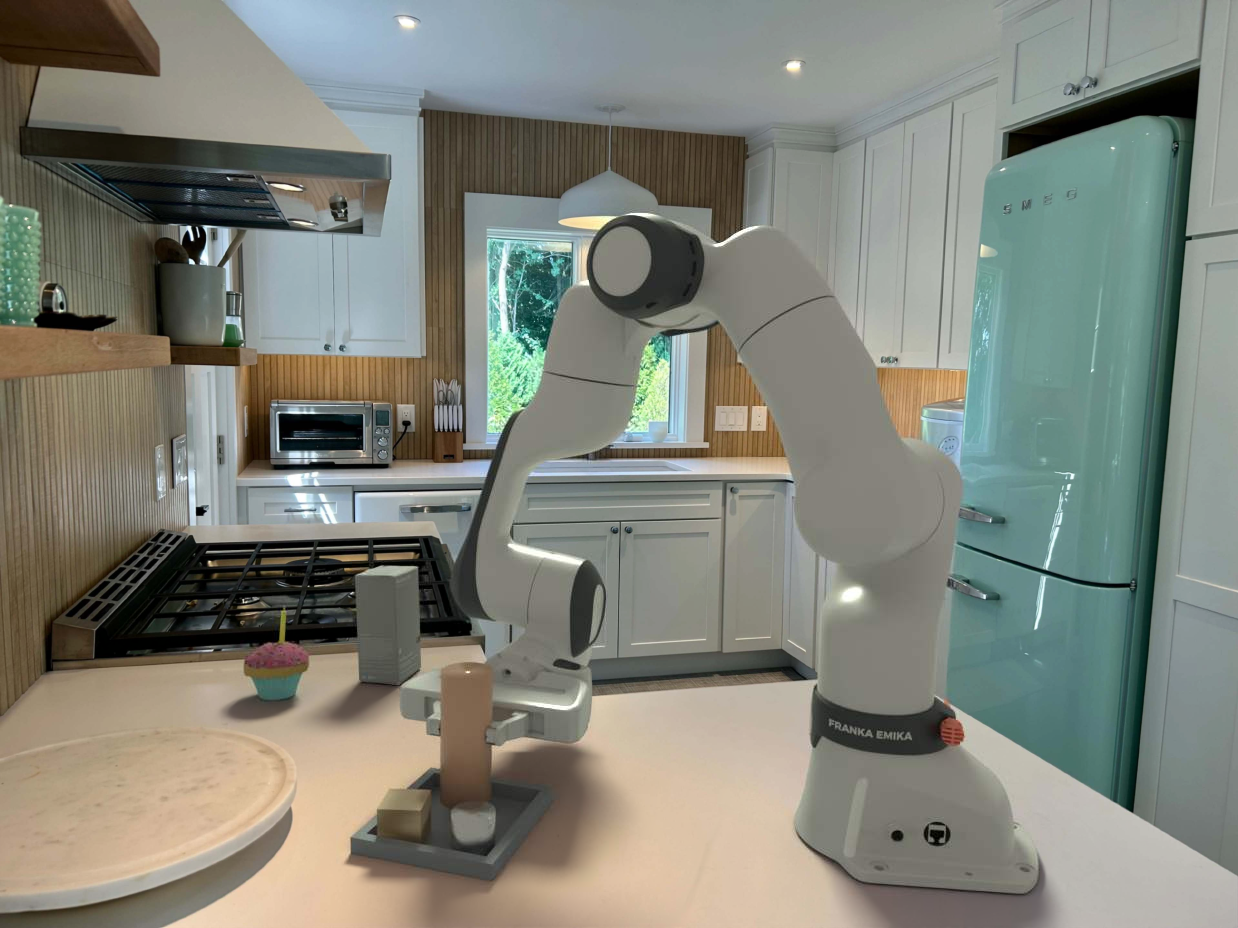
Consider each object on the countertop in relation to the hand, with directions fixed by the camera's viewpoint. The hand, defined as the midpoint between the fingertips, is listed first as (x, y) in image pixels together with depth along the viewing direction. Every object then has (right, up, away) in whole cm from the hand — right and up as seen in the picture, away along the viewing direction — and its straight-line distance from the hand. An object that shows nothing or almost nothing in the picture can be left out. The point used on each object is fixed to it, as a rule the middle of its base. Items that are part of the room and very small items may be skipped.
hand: (462, 733), depth 86 cm
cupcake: (-32, -6, +35) cm, 48 cm away
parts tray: (0, -10, 0) cm, 10 cm away
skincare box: (-19, -5, +44) cm, 48 cm away
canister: (0, -7, +2) cm, 7 cm away
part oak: (-5, -9, -3) cm, 11 cm away
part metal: (+2, -9, -5) cm, 11 cm away
